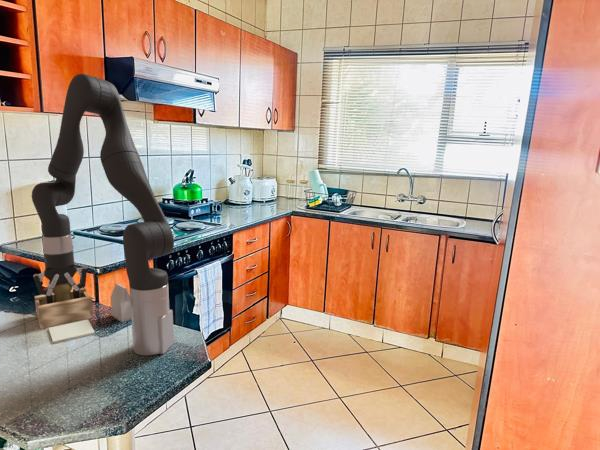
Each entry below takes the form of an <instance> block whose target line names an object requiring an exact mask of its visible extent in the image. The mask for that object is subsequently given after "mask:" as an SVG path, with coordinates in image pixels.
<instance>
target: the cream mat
mask: <svg viewBox="0 0 600 450" xmlns="http://www.w3.org/2000/svg"><path fill="white" fill-rule="evenodd" d="M90 322H91V321H89V319H85V320H80V321H75V322H71V323H66V324H61V325H57V326H52V327H48V332H49V335H50V338H51V342H52V344H53V345H54V344H58V343H59V344H60V343H63V342H67V341H70V340H77V339H80V338H84V337H89V336H92V335H95V334H96V332H95V330H94V328H93V326H92V324H91V323H90Z"/></svg>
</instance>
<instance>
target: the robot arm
mask: <svg viewBox="0 0 600 450" xmlns="http://www.w3.org/2000/svg"><path fill="white" fill-rule="evenodd" d="M85 112H86V113H91V114H93V115H98V116H99V117H100V119H101V121H102V123H103V124H102V125H103V127H104V130H105V135H104V136H105V137H104V139H103V142H102V144H101V148H100V155H99V157H100V162H101V165H102V168H103V171H104V174H105V176H106V179H107V181H108V183H109V184H110V185H111V186H112V187H113V189H114V190H116V191H117V193H118V194H119V195H121V196H122V197H123V198H125V199H126V200H127V201H129V203H131V204H132V205H133V206H134V207H135V208H136V210H137V211H138V212H139V214H140V216H141V218H142V220H143V222H136V223H135V222H134V223H131V224H128V225H126V227H125V228H124V229H123V230H124V231H123V235H122V245H123V253H124V260H125V270H126V275H127V279H128V284H129V295H130V304H131V330H132V346H133V347H132V349H133V352H134V353H135V354H137V355H140V356H154V355H159V354H160V355H164V354H165V353H166V352H167V351H168V350H169V349H170V348H171V347H172V345H174V343H175V336H174V335H175V334H174V332H175V331H174V314H173V313H174V311H173V309H170V298H169V297H170V296H169V275H168V273H167V271H166V270H163V269H160V268H156V267H155V268H154V267H150V263H149V260H150V259H155V258H159V257H163V256H166V255H169V254H170V253H172V251H173V250H174V246H175V239H174V234H173V231H172V229H171V226H170V223H169V221H168V220H167V217H166V216H165V214H164V212H163V210H162V208H161V206H160V204H159V202H158V200H157V198H156V196H155V194H154V191H153V189H152V186H151V184H150V181H149V179H148V176H147V173H146V170H145V167H144V165H143V162H142V160H141V158H140V155H139V153H138V149H137V147H136V146H135V143H134V140H133V137H132V134H131V132H130V129H129V126H128V125H129V124H128V123H127V120H126V115H125V112H124V109H123V104H122V101H121V97H120V94H119V91H118V89H117V87H116V86H115V84H113V83H111V82H110V81H109V80H106V79H102V78H100V77H95V76H93V75H90V74H86V73H77V74H76V75H74V76H73V78H71V80H70V83H69V85H68V88H67V90H66V95H65V100H64V105H63V111H62V115H61V122H60V129H59V134H58V138H57V142H56V145H55V148H54V151H53V153H52V156H51V159H50V161H49V164H48V167H47V172H48V174H49V175H50V176H51V177H52V178H54V179H55V180H54V181H49V182H40V183H37V184H36V185H35V186H34V187H33V188H32V191H31V201H32V203H33V206H34V208H35V211H36V213H37V216H38V218H39V220H40V223H41V231H42V248H43V249H42V251H43V259H44V268H45V269H44V271H43V272H41V273H34V274H33V275H32V276H33V280H34V283H35V285H36V289H37V292H38V294H39V295H46V299H47V304H50V303H53V298H52V294H51V293H53V289H54V287H55V284H56V285H57V284H61V283H68V282H69V283H70V284H71V285H72V290H73V297H74V299H77V298H80V297H79V290H80V289H81V288H86V283H87V274H88V273H87V272H88V269H87V267H85V266H81V267H76V264H75V255H74V245H73V238H72V234H71V233H72V232H71V222H70V221H71V220H70V218H69V216H68V215H67V214H63V213H59V212H58V210H57V208H56V207H59V206H61V207H62V206H65V205H68V204H69V203H70V202H71V201H72V200H73V198H74V197H75V193H76V184H77V183H76V182H77V181H76V180H77V178H76V177H77V173H79V172H78V171H79V168H80V167H81V164H82V161H83V160H84V154H85V152H84V151H85V150H84V143H83V139H82V135H81V128H80V127H81V121H82V118H83V116H84V115H85ZM76 273H77V274H78V275H79V277H80V278H79V283H76V282H75V280H74V276H75V275H76ZM44 277H45V278H46V279H47V280H49V281H48V283H47V287H46V289H44V288H43V286H42V282H43V280H44Z"/></svg>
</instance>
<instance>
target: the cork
mask: <svg viewBox="0 0 600 450" xmlns="http://www.w3.org/2000/svg"><path fill="white" fill-rule="evenodd" d="M71 290H73V287H72V285H71V284H70V283H69V282H68V283H61V284H57V285H56V284H55V287H54V289H53V291H52V293H54V294H55V299H54V303H56V302H61V301H66V300H72V296H71Z"/></svg>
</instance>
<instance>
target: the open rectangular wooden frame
mask: <svg viewBox="0 0 600 450" xmlns="http://www.w3.org/2000/svg"><path fill="white" fill-rule="evenodd" d="M51 294H52V298H53V303H50V304H47V299H46V295H34V304H35V311H36V318H37V321H38V324H39V328H40V330H43V329H47V328H50V327H55V326H60V325H64V324H69V323H74V322H78V321H83V320H89V319H93V318H94V308H93V298H92V296H91V295H89V294H88V293H87V289H86V287H84V288H81V289H80V290H79V297H80V298H77V299H74V297H73V289H72V290H71V296H72V300H66V301H61V302H56V303H54V299H55V294H54V293H53V292H52V293H51Z"/></svg>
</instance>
